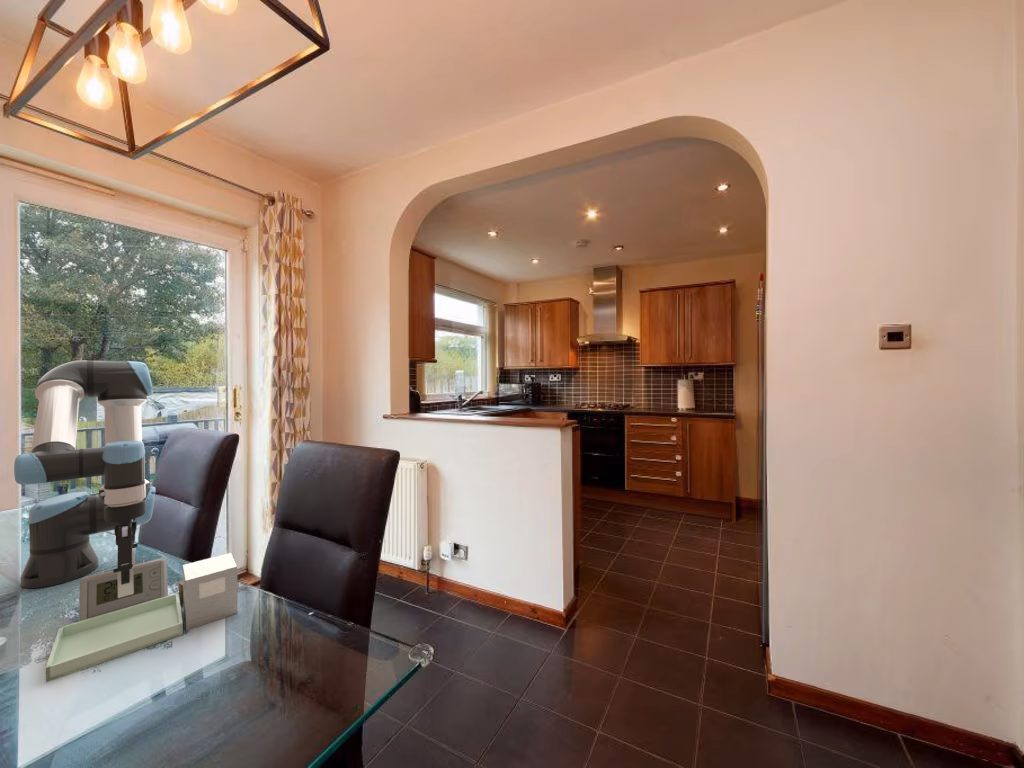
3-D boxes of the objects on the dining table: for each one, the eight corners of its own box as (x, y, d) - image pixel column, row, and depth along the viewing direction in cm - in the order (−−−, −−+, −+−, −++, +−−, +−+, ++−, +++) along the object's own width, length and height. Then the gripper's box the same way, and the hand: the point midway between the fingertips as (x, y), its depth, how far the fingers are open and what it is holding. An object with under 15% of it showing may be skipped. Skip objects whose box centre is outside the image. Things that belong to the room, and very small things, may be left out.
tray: (59, 639, 88) (59, 627, 88) (178, 603, 103) (178, 592, 102) (45, 682, 76) (45, 668, 76) (182, 634, 90) (182, 622, 90)
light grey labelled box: (183, 610, 99) (182, 564, 99) (231, 595, 106) (230, 552, 106) (186, 630, 92) (185, 581, 91) (237, 613, 99) (237, 566, 98)
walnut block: (179, 601, 104) (178, 582, 104) (201, 592, 108) (201, 574, 108) (186, 607, 101) (186, 588, 101) (209, 597, 105) (209, 579, 105)
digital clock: (74, 629, 92) (73, 585, 92) (88, 609, 100) (87, 568, 99) (164, 608, 101) (164, 567, 100) (171, 591, 108) (171, 553, 108)
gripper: (107, 494, 106) (109, 571, 106) (99, 518, 88) (101, 611, 88) (145, 489, 111) (147, 562, 111) (145, 510, 93) (146, 598, 93)
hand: (126, 584), depth 100 cm, fingers open, 13 cm apart
